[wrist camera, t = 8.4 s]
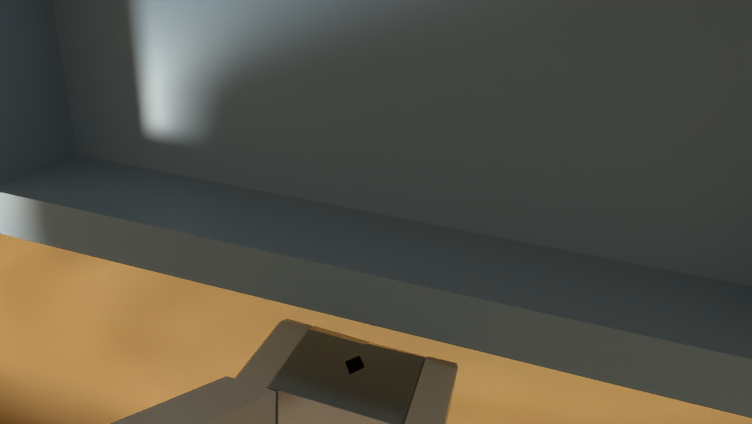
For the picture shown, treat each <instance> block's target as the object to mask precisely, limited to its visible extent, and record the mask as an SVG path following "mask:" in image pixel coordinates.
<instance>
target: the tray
mask: <svg viewBox="0 0 752 424" xmlns="http://www.w3.org/2000/svg"><path fill="white" fill-rule="evenodd" d="M0 234H4V235H8V236H12V237H16V238H20V239H24V240H28V241H32V242H36V243H40V244H45V245H49V246H53V247H57V248H61V249H65V250H69V251H73V252H77V253H81V254H85V255H89V256H93V257H98V258H102V259H106V260H110V261H114V262H118V263H122V264H126V265H130V266H134V267H138V268H142V269H146V270H151V271H155V272H159V273H163V274H167V275H171V276H175V277H179V278H183V279H187V280H191V281H195V282H199V283H204V284H208V285H212V286H216V287H220V288H224V289H228V290H232V291H236V292H240V293H244V294H248V295H252V296H256V297H261V298H265V299H269V300H273V301H277V302H281V303H285V304H289V305H293V306H297V307H301V308H305V309H309V310H314V311H318V312H322V313H326V314H330V315H334V316H338V317H342V318H346V319H350V320H354V321H358V322H362V323H367V324H371V325H375V326H379V327H383V328H387V329H391V330H395V331H399V332H403V333H407V334H411V335H415V336H420V337H424V338H428V339H432V340H436V341H440V342H444V343H448V344H452V345H456V346H460V347H464V348H468V349H472V350H477V351H481V352H485V353H489V354H493V355H497V356H501V357H505V358H509V359H513V360H517V361H521V362H525V363H530V364H534V365H538V366H542V367H546V368H550V369H554V370H558V371H562V372H566V373H570V374H574V375H578V376H583V377H587V378H591V379H595V380H599V381H603V382H607V383H611V384H615V385H619V386H623V387H627V388H631V389H636V390H640V391H644V392H648V393H652V394H656V395H660V396H664V397H668V398H672V399H676V400H680V401H684V402H689V403H693V404H697V405H701V406H705V407H709V408H713V409H717V410H721V411H725V412H729V413H733V414H737V415H741V416H746V417H750V418H752V0H0Z"/></svg>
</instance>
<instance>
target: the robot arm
mask: <svg viewBox="0 0 752 424" xmlns="http://www.w3.org/2000/svg"><path fill="white" fill-rule="evenodd" d="M457 369H458V366H457V363H454V362H449V361H445V360H441V359H437V358H433V357H428V356H427V357H425V356H421V355H417V354H413V353H409V352H406V351H402V350H398V349H394V348H390V347H386V346H382V345H378V344H375V343H371V342H368V341H364V340H361V339H357V338H354V337H351V336H347V335H344V334H340V333H337V332H333V331H330V330H326V329H323V328H319V327H316V326H311V325H308V324H304V323H301V322H297V321H293V320H290V319H285V320H283V321H281V322H279V323H278V325H277V326H276V327H275V328H274V330H273V331H272V332H271V333H270V335H269V336H268V337H267V338H266V340H265V341H264V342H263V344H262V345H261V346H260V347H259V349H258V350H257V351H256V352H255V354H254V355H253V356H252V357H251V359H250V360H249V361H248V362H247V364H246V365H245V366H244V367H243V369H242V370H241V371H240V372H239V374H238V375H237V376H236V377H235V379H234V378H230V377H227V376H226V377H224V378H221V379H219V380H216V381H214V382H211V383H209V384H206V385H204V386H202V387H199V388H197V389H194V390H192V391H189V392H187V393H184V394H182V395H180V396H177V397H175V398H172V399H170V400H167V401H165V402H162V403H160V404H158V405H155V406H153V407H150V408H148V409H145V410H143V411H140V412H138V413H136V414H133V415H131V416H128V417H126V418H123V419H121V420H118V421H116V422H114V423H111V424H447V419H448V414H449V409H450V404H451V399H452V394H453V389H454V384H455V379H456V374H457Z"/></svg>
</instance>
